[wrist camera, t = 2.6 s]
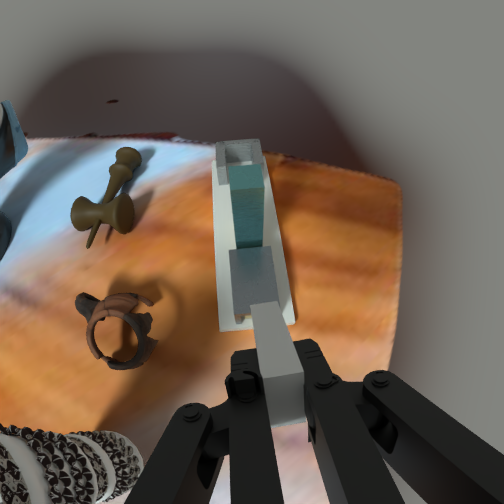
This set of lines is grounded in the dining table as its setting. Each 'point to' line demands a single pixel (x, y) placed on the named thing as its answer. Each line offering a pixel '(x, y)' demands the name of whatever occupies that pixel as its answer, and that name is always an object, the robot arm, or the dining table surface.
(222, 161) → the socket
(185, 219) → the dining table surface
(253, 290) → the sleeve
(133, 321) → the brown grey jagged ring
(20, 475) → the decorative candle
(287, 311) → the base board
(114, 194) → the kendama
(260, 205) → the two-tone teal block
